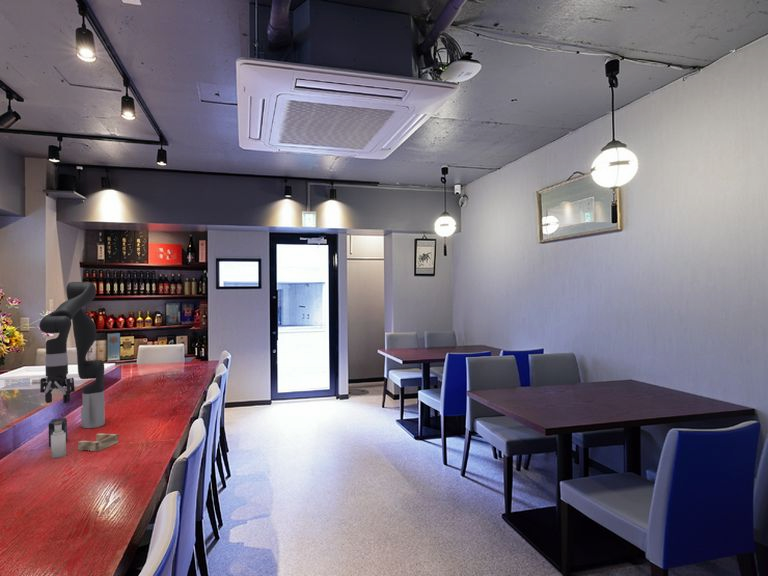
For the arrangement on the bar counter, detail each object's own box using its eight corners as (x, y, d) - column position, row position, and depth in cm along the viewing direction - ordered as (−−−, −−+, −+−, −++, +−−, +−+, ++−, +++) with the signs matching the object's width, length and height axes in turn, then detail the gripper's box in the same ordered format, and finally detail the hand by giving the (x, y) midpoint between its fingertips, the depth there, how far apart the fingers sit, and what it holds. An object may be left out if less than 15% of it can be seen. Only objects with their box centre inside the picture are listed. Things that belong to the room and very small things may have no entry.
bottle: (48, 457, 183) (47, 423, 183) (59, 453, 188) (58, 420, 188) (58, 458, 182) (57, 424, 182) (69, 453, 187) (68, 420, 187)
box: (64, 445, 198) (63, 421, 198) (48, 447, 196) (47, 423, 196) (67, 439, 205) (67, 416, 205) (52, 441, 203) (52, 418, 203)
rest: (78, 450, 191) (78, 441, 191) (99, 441, 202) (98, 433, 202) (98, 451, 189) (98, 442, 189) (118, 442, 200) (118, 434, 200)
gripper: (33, 365, 183) (34, 405, 183) (63, 365, 180) (64, 405, 180) (50, 362, 190) (51, 400, 190) (79, 362, 188) (80, 401, 188)
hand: (57, 402), depth 185 cm, fingers open, 8 cm apart
